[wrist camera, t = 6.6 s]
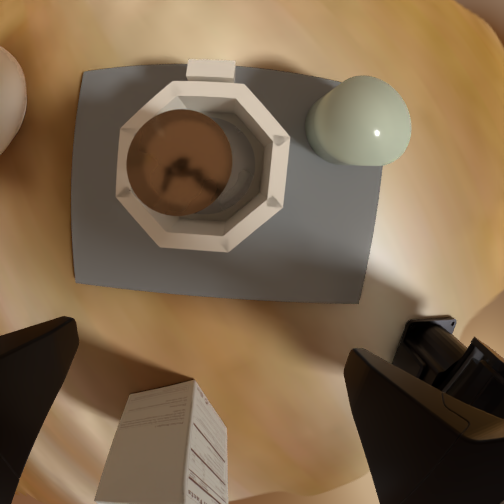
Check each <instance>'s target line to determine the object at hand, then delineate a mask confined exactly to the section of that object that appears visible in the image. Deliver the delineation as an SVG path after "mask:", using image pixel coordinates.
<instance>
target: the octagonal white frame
mask: <svg viewBox="0 0 504 504" xmlns="http://www.w3.org/2000/svg"><path fill="white" fill-rule="evenodd" d="M235 69H236V61H230V60H211V59H188V65H187V72H186V77H187V79H188V81H172V82H171V83H170V84H168V85H167V86H166V87H165V88H164V89H162V90H161V91H160V92H159V93H158V94H157V95H155V96H154V97H153V98H152V99H151V100H150V101H149V102H148V103H146V104H145V105H144V106H143V107H142V108H141V109H140V110H139V111H138V112H137V113H136V114H134V115H133V116H132V117H131V118H130V119H129V120H128V121H127V122H126V123H125V124H124V125H123V126H122V127H121V128H120V136H119V147H118V160H117V176H116V198H117V199H118V200H119V201H120V203H121V204H122V205H123V206H124V207H125V208H126V210H127V211H128V212H129V213H130V214H131V215H132V217H133V218H134V219H135V220H136V221H137V222H138V223H139V225H140V226H141V227H142V228H143V229H144V230H145V231H146V233H147V234H148V235H149V236H150V237H151V238H152V239H153V240H154V242H155V243H156V244H157V245H158V246H159V247H162V248H176V249H189V250H202V251H215V252H230V251H231V250H232V249H233V248H234V247H236V246H237V245H238V244H239V243H240V242H242V241H243V240H244V239H245V238H247V237H248V236H249V235H250V234H251V233H253V232H254V231H255V230H256V229H257V228H259V227H260V226H261V225H262V224H264V223H265V222H266V221H267V220H268V219H270V218H271V217H272V216H273V215H275V214H276V213H277V212H278V211H280V210H281V209H282V208H283V202H284V193H285V184H286V175H287V165H288V155H289V145H290V136H289V135H288V134H287V132H286V131H285V130H284V129H283V128H282V126H281V125H280V124H279V123H278V122H277V120H276V119H275V118H274V117H273V116H272V115H271V113H270V112H269V111H268V110H267V109H266V108H265V107H264V105H263V104H262V103H261V102H260V101H259V100H258V99H257V98H256V96H255V95H254V94H253V93H252V92H251V91H250V90H249V89H248V88H247V86H246V85H245V84H239V83H235ZM175 109H187V110H193V111H197V112H200V113H202V114H204V115H206V116H208V117H213V118H219V119H223V120H225V121H228V122H230V123H231V124H233V125H235V126H236V127H237V128H239V129H240V130H241V131H242V132H243V133H244V135H245V136H246V137H247V139H248V140H249V142H250V144H251V146H252V149H253V152H254V156H255V173H254V177H253V181H252V183H251V185H250V188H249V189H248V191H247V192H246V194H245V195H244V196H243V198H242V199H241V200H240V201H238V202H237V203H236V204H235V205H233V206H232V207H230V208H228V209H227V210H224V211H222V212H218V213H214V214H195V213H193V214H190V215H184V216H170V215H165V214H161V213H159V212H156V211H154V210H152V209H151V208H149V207H147V206H146V205H145V204H144V203H143V202H142V201H141V200H140V199H139V198H138V197H137V196H136V194H135V193H134V191H133V189H132V187H131V185H130V183H129V179H128V175H127V168H126V161H127V154H128V150H129V147H130V144H131V142H132V140H133V138H134V136H135V134H136V133H137V132H138V130H139V129H140V128H141V127H142V126H143V125H144V124H145V123H146V122H147V121H149V120H150V119H151V118H153V117H155V116H156V115H158V114H161V113H163V112H166V111H170V110H175Z"/></svg>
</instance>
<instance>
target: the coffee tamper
mask: <svg viewBox="0 0 504 504" xmlns="http://www.w3.org/2000/svg"><path fill="white" fill-rule="evenodd" d="M126 168H127V175H128V179H129V183H130V185H131V187H132V189H133V191H134V193H135V194H136V196H137V197H138V198H139V199H140V200H141V201H142V202H143V203H144V204H145V205H146V206H147V207H149V208H151V209H152V210H154V211H156V212H159V213H161V214H165V215H170V216H184V215H190V214H193V213H195V214H214V213H218V212H222V211H224V210H227V209H228V208H230V207H232V206H233V205H235V204H236V203H237V202H238V201H240V200H241V199H242V198H243V196H244V195H245V194H246V192H247V191H248V189H249V188H250V185H251V183H252V181H253V177H254V173H255V156H254V152H253V149H252V146H251V144H250V142H249V140H248V139H247V137H246V136H245V135H244V133H243V132H242V131H241V130H240V129H239V128H237V127H236V126H235V125H233V124H231V123H230V122H228V121H225V120H223V119H219V118H213V117H208V116H206V115H204V114H202V113H200V112H197V111H193V110H187V109H175V110H170V111H166V112H163V113H161V114H158V115H156V116H155V117H153V118H151V119H150V120H149V121H147V122H146V123H145V124H144V125H143V126H142V127H141V128H140V129H139V130H138V132H137V133H136V134H135V136H134V138H133V140H132V142H131V144H130V147H129V150H128V154H127V161H126Z"/></svg>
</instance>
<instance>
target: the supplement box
mask: <svg viewBox="0 0 504 504" xmlns="http://www.w3.org/2000/svg"><path fill="white" fill-rule="evenodd" d="M94 501H95V502H96V503H97V504H228V475H227V428H226V426H225V425H224V423H223V422H222V420H221V419H220V417H219V416H218V414H217V413H216V411H215V410H214V408H213V407H212V405H211V404H210V402H209V401H208V399H207V398H206V396H205V395H204V393H203V392H202V390H201V389H200V387H199V385H198V384H197V382H196V381H195V380H191V381H187V382H183V383H179V384H175V385H171V386H167V387H163V388H158V389H154V390H149V391H144V392H139V393H134V394H130V395H129V397H128V400H127V403H126V405H125V408H124V411H123V414H122V416H121V419H120V422H119V425H118V428H117V431H116V433H115V436H114V439H113V442H112V445H111V448H110V451H109V454H108V457H107V460H106V463H105V467H104V470H103V473H102V476H101V479H100V483H99V486H98V489H97V493H96V496H95V500H94Z"/></svg>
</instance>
